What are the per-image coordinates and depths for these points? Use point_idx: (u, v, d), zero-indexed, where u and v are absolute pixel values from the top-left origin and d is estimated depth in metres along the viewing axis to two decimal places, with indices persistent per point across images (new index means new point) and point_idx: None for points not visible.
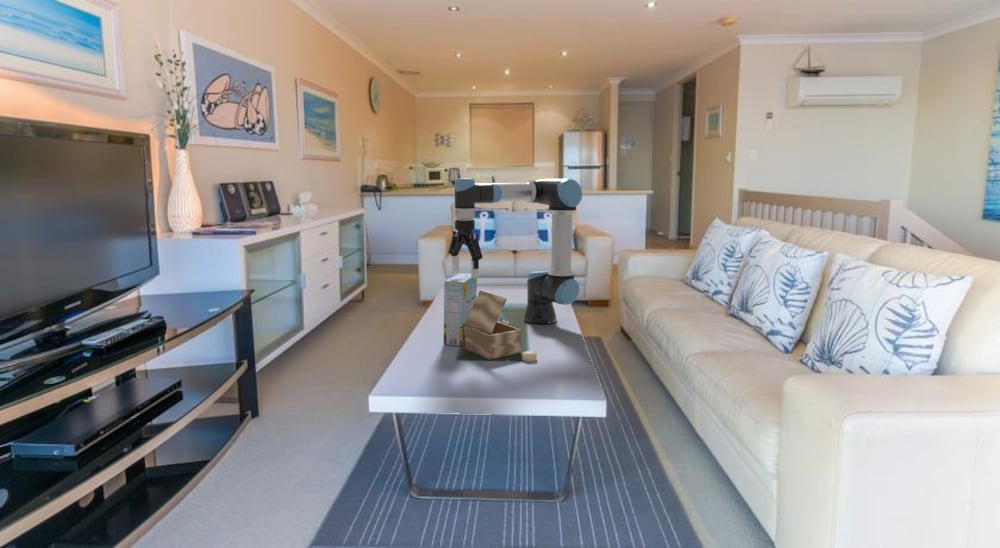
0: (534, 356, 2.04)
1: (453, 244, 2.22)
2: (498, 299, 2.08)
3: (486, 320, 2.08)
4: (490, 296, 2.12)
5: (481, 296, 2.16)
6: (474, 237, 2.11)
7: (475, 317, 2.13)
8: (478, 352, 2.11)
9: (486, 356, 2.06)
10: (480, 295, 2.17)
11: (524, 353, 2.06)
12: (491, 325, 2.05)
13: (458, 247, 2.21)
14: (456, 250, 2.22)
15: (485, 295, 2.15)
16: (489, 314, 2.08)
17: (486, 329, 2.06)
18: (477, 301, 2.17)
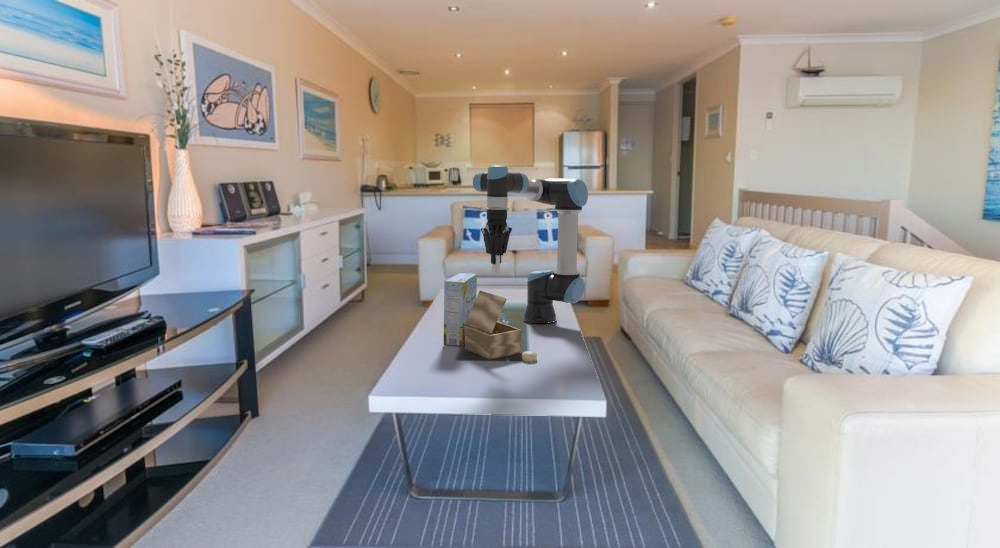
0: (534, 356, 2.04)
1: (502, 240, 2.12)
2: (498, 299, 2.08)
3: (486, 320, 2.08)
4: (490, 296, 2.12)
5: (481, 296, 2.16)
6: (483, 232, 2.06)
7: (475, 317, 2.13)
8: (478, 352, 2.11)
9: (486, 356, 2.06)
10: (480, 295, 2.17)
11: (524, 353, 2.06)
12: (491, 325, 2.05)
13: (497, 241, 2.10)
14: (497, 246, 2.11)
15: (485, 295, 2.15)
16: (489, 314, 2.08)
17: (486, 329, 2.06)
18: (477, 301, 2.17)
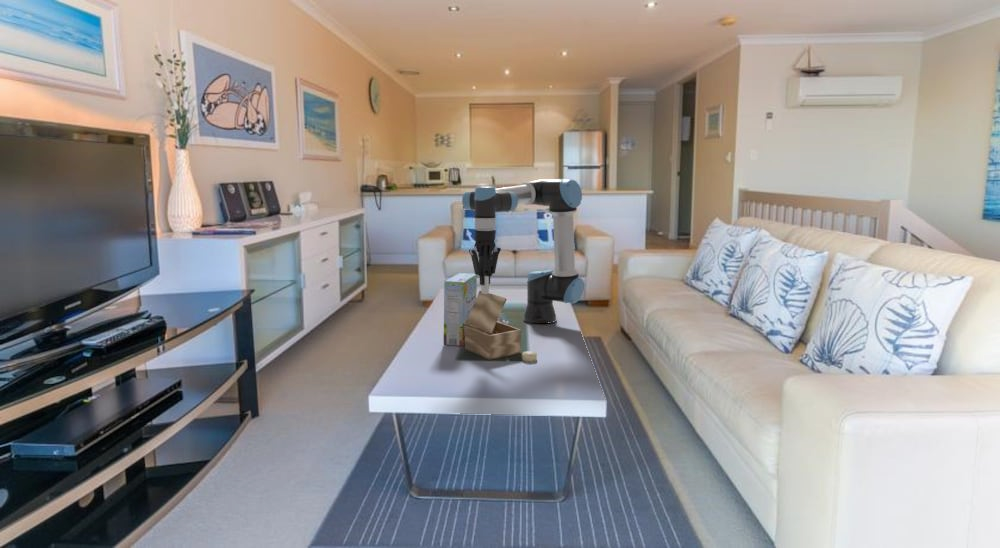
0: (534, 356, 2.04)
1: (491, 260, 2.11)
2: (498, 299, 2.08)
3: (486, 320, 2.08)
4: (490, 296, 2.12)
5: (481, 296, 2.16)
6: (471, 254, 2.04)
7: (475, 317, 2.13)
8: (478, 352, 2.11)
9: (486, 356, 2.06)
10: (480, 295, 2.17)
11: (524, 353, 2.06)
12: (491, 325, 2.05)
13: (486, 262, 2.08)
14: (485, 266, 2.09)
15: (485, 295, 2.15)
16: (489, 314, 2.08)
17: (486, 329, 2.06)
18: (477, 301, 2.17)
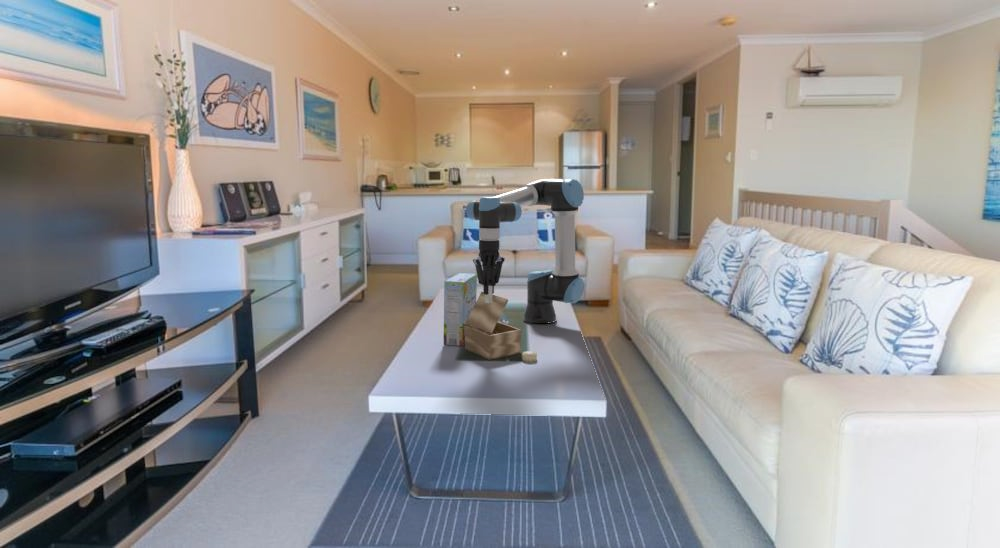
0: (534, 356, 2.04)
1: (495, 270, 2.12)
2: (500, 300, 2.08)
3: (487, 320, 2.08)
4: (492, 297, 2.13)
5: (482, 297, 2.17)
6: (475, 263, 2.06)
7: (476, 318, 2.13)
8: (478, 352, 2.11)
9: (486, 356, 2.06)
10: (482, 296, 2.17)
11: (524, 353, 2.06)
12: (491, 325, 2.05)
13: (490, 271, 2.10)
14: (489, 276, 2.11)
15: None
16: (490, 314, 2.09)
17: (486, 329, 2.06)
18: (478, 302, 2.17)
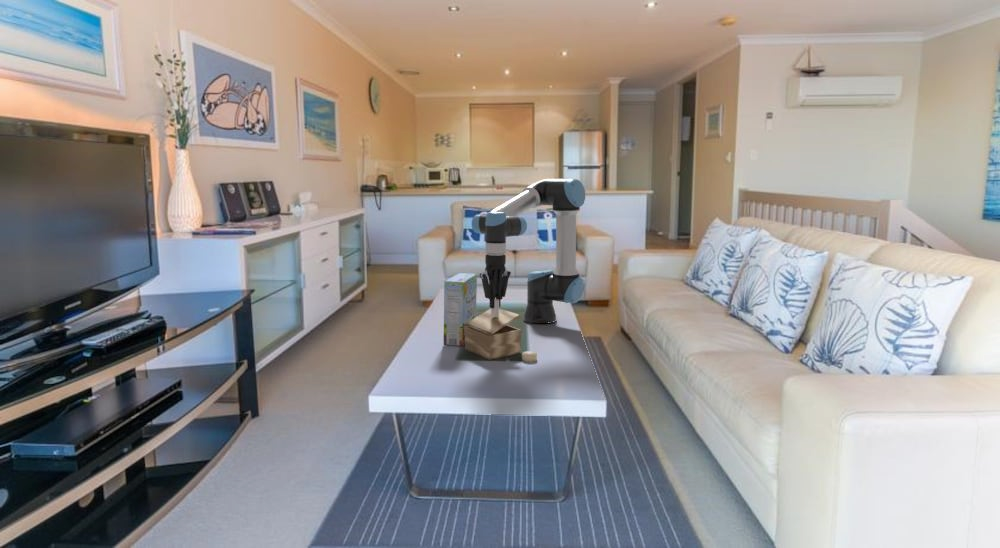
0: (534, 356, 2.04)
1: (501, 284, 2.15)
2: (511, 314, 2.12)
3: (490, 325, 2.09)
4: (503, 311, 2.17)
5: None
6: (482, 278, 2.08)
7: (479, 321, 2.15)
8: (478, 352, 2.11)
9: (486, 356, 2.06)
10: None
11: (524, 353, 2.06)
12: (494, 328, 2.06)
13: (496, 285, 2.13)
14: (496, 290, 2.13)
15: None
16: (496, 321, 2.11)
17: (488, 330, 2.06)
18: (487, 312, 2.20)
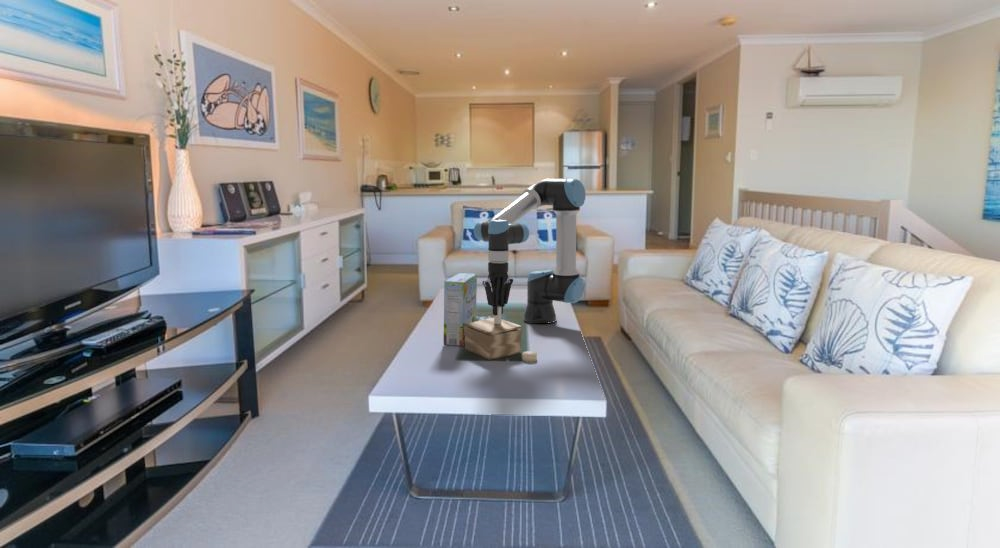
0: (534, 356, 2.04)
1: (504, 291, 2.16)
2: (513, 324, 2.14)
3: (491, 328, 2.10)
4: (505, 321, 2.18)
5: None
6: (485, 285, 2.10)
7: (480, 324, 2.15)
8: (478, 352, 2.11)
9: (486, 356, 2.06)
10: None
11: (524, 353, 2.06)
12: (495, 331, 2.06)
13: (499, 293, 2.14)
14: (498, 297, 2.14)
15: None
16: (497, 326, 2.11)
17: (488, 331, 2.06)
18: (488, 319, 2.21)
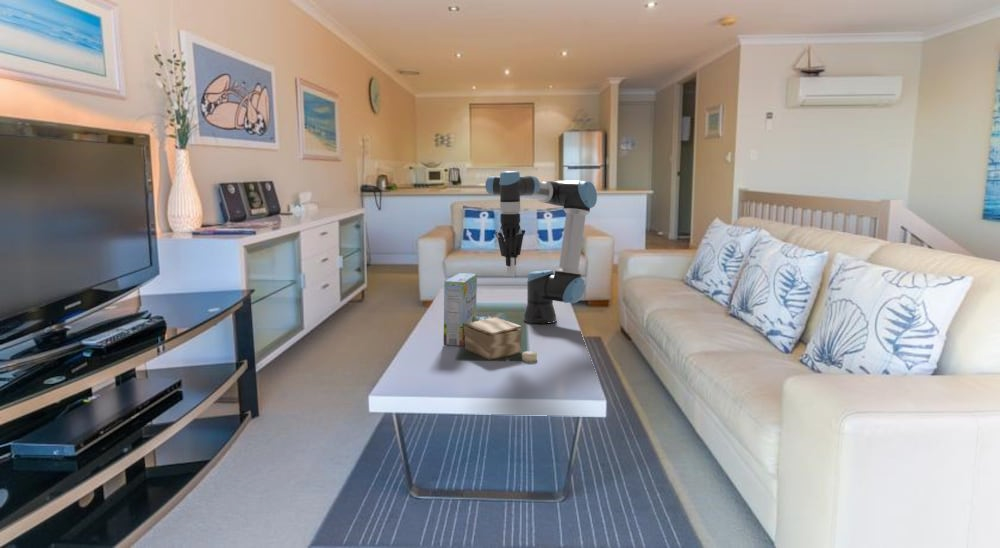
0: (534, 356, 2.04)
1: (516, 242, 2.20)
2: (513, 324, 2.14)
3: (491, 328, 2.10)
4: (505, 321, 2.18)
5: (494, 319, 2.22)
6: (498, 236, 2.13)
7: (480, 324, 2.15)
8: (478, 352, 2.11)
9: (486, 356, 2.06)
10: (494, 318, 2.22)
11: (524, 353, 2.06)
12: (495, 331, 2.06)
13: (511, 244, 2.18)
14: (511, 248, 2.18)
15: (499, 320, 2.21)
16: (497, 327, 2.11)
17: (488, 331, 2.06)
18: (488, 319, 2.21)
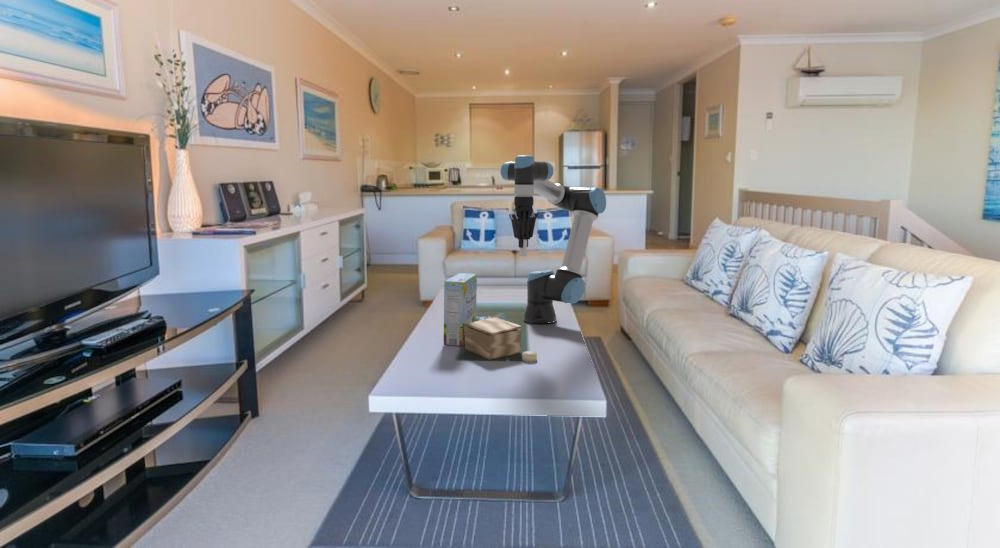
0: (534, 356, 2.04)
1: (529, 225, 2.26)
2: (513, 324, 2.14)
3: (491, 328, 2.10)
4: (505, 321, 2.18)
5: (494, 319, 2.22)
6: (511, 218, 2.20)
7: (480, 324, 2.15)
8: (478, 352, 2.11)
9: (486, 356, 2.06)
10: (494, 318, 2.22)
11: (524, 353, 2.06)
12: (495, 331, 2.06)
13: (524, 226, 2.24)
14: (524, 230, 2.25)
15: (499, 320, 2.21)
16: (497, 327, 2.11)
17: (488, 331, 2.06)
18: (488, 319, 2.21)
